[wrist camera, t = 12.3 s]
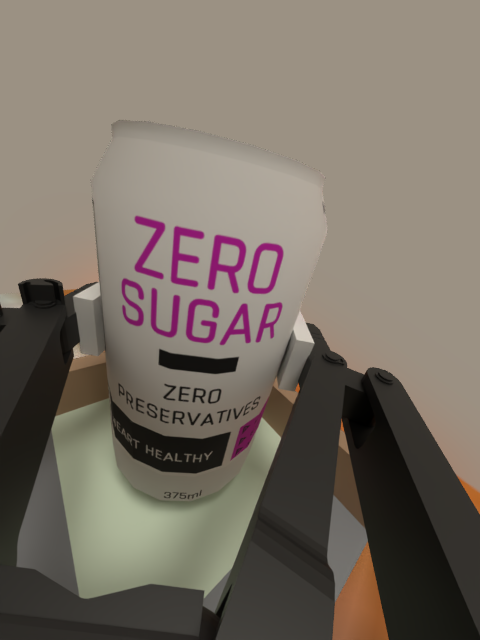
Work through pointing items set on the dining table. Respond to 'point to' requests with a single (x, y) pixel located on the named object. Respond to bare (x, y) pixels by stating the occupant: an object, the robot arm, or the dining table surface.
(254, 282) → the supplement can
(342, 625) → the dining table surface
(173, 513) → the corner arena
